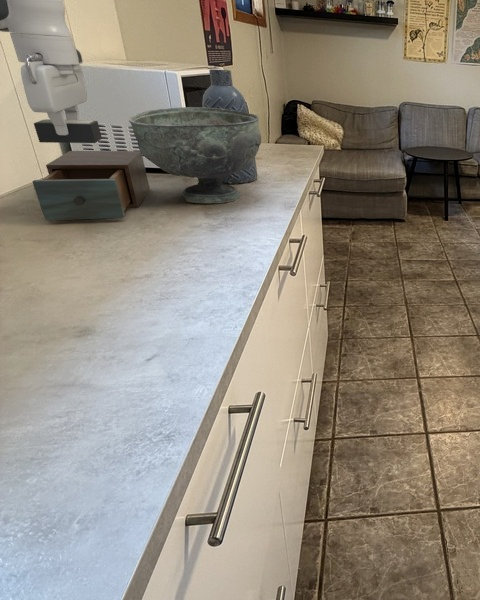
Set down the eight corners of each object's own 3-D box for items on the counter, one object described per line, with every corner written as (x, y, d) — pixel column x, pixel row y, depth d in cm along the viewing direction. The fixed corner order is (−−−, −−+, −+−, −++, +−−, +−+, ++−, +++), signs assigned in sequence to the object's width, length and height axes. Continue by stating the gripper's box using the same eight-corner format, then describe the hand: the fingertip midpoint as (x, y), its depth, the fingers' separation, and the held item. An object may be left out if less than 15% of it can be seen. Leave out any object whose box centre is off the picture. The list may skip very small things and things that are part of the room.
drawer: (122, 219, 97) (113, 181, 93) (43, 222, 92) (29, 182, 89) (137, 198, 110) (129, 164, 106) (68, 200, 105) (57, 165, 102)
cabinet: (138, 207, 107) (127, 164, 103) (60, 210, 102) (45, 165, 98) (150, 189, 120) (141, 151, 115) (81, 191, 115) (69, 150, 110)
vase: (255, 184, 131) (241, 72, 118) (207, 184, 128) (188, 69, 115) (260, 174, 142) (248, 70, 129) (216, 173, 139) (199, 67, 126)
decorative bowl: (273, 182, 132) (262, 106, 122) (266, 211, 111) (252, 122, 101) (169, 186, 126) (148, 106, 116) (140, 217, 104) (112, 122, 95)
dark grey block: (95, 143, 93) (90, 123, 91) (39, 142, 90) (32, 122, 88) (102, 138, 97) (97, 120, 95) (48, 138, 94) (42, 118, 92)
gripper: (47, 55, 79) (71, 141, 85) (83, 53, 96) (102, 125, 102) (-1, 52, 77) (28, 140, 83) (45, 50, 93) (66, 124, 100)
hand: (69, 132), depth 93 cm, fingers closed on dark grey block, 5 cm apart
